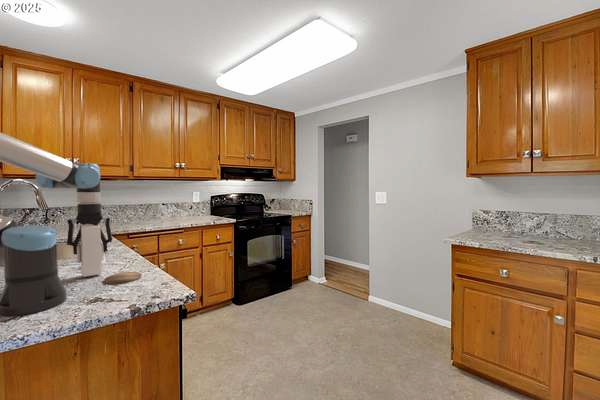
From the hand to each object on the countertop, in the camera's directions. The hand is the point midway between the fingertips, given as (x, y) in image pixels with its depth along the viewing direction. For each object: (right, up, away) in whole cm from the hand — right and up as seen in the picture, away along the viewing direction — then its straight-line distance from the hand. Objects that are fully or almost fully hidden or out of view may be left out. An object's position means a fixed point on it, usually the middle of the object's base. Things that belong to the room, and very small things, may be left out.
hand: (91, 261), depth 114 cm
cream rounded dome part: (-8, -5, +14) cm, 17 cm away
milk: (0, -5, 0) cm, 5 cm away
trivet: (+15, -6, -4) cm, 17 cm away
